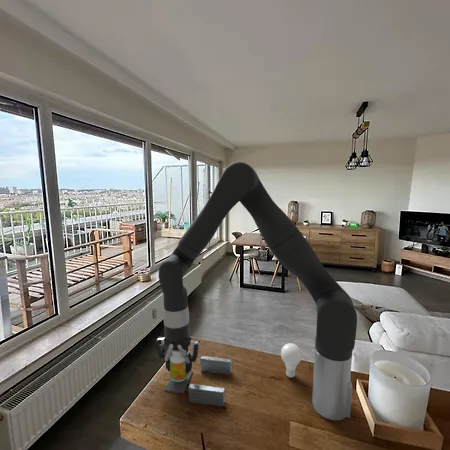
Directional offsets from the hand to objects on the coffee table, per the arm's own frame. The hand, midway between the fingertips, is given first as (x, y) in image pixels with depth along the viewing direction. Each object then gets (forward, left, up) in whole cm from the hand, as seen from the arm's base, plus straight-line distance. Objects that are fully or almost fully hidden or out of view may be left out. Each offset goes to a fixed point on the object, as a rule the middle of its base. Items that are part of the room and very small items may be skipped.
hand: (179, 370), depth 83 cm
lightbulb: (-34, -8, -4) cm, 36 cm away
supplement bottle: (0, 0, -2) cm, 2 cm away
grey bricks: (-10, 0, -4) cm, 11 cm away
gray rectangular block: (0, 0, -4) cm, 4 cm away
